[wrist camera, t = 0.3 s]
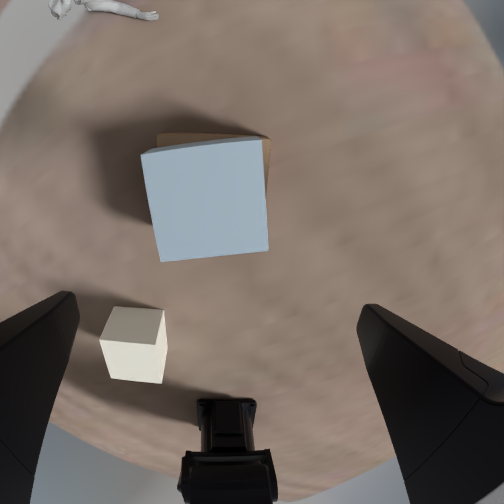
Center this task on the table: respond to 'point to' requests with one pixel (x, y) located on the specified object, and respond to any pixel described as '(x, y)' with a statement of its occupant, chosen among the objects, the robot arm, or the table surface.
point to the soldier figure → (99, 8)
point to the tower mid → (207, 198)
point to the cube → (135, 344)
